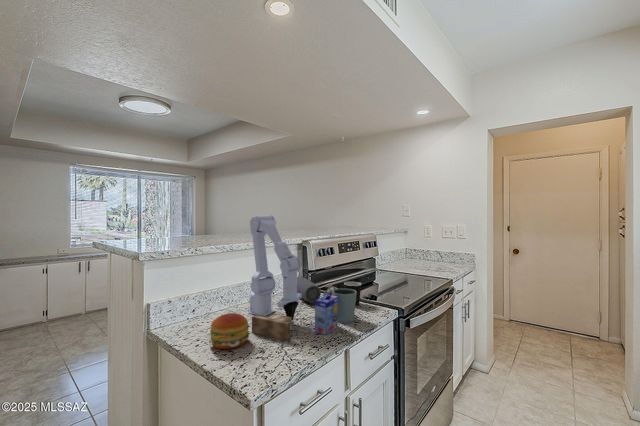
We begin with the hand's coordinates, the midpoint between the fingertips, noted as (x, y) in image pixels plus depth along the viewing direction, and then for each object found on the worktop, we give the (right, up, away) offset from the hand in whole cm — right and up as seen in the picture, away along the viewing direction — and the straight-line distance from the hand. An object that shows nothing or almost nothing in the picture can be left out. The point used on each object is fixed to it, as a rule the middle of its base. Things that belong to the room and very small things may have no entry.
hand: (290, 320), depth 120 cm
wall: (-6, -2, -12) cm, 13 cm away
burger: (-19, -2, -18) cm, 26 cm away
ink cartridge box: (+15, -2, -6) cm, 16 cm away
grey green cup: (+23, -2, +4) cm, 23 cm away
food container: (+18, -1, +15) cm, 23 cm away
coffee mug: (+27, -1, +26) cm, 37 cm away
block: (-4, -1, -8) cm, 9 cm away
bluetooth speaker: (+4, -1, +34) cm, 34 cm away
